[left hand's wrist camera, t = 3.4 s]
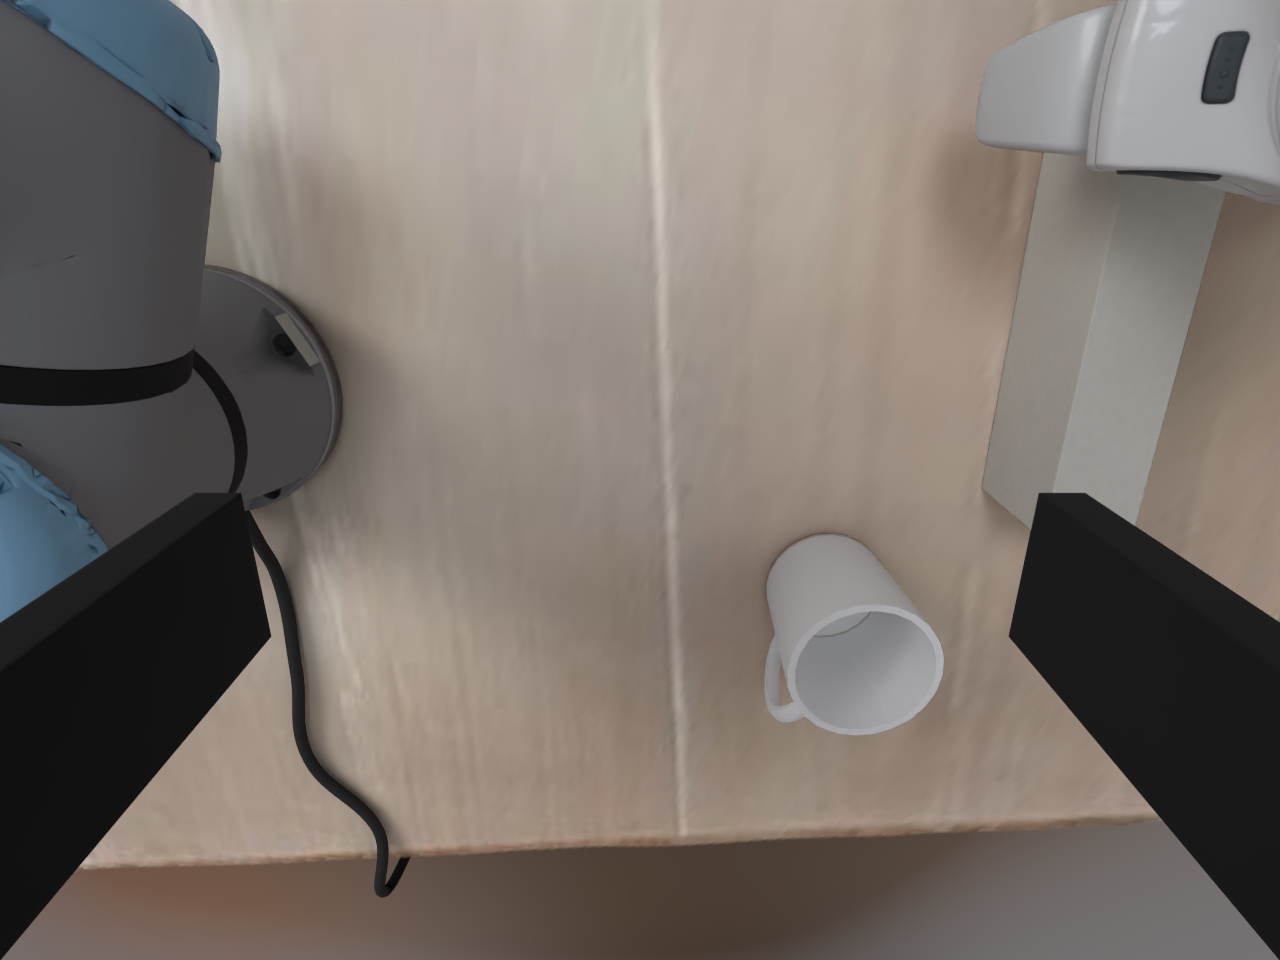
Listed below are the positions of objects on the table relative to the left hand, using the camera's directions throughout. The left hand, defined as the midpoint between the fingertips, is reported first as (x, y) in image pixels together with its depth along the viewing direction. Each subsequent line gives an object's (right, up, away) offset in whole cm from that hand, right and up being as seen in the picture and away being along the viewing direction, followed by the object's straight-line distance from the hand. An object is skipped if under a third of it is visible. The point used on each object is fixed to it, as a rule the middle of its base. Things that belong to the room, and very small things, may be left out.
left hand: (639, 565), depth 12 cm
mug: (+12, -6, +40) cm, 42 cm away
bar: (+26, +13, +32) cm, 43 cm away
